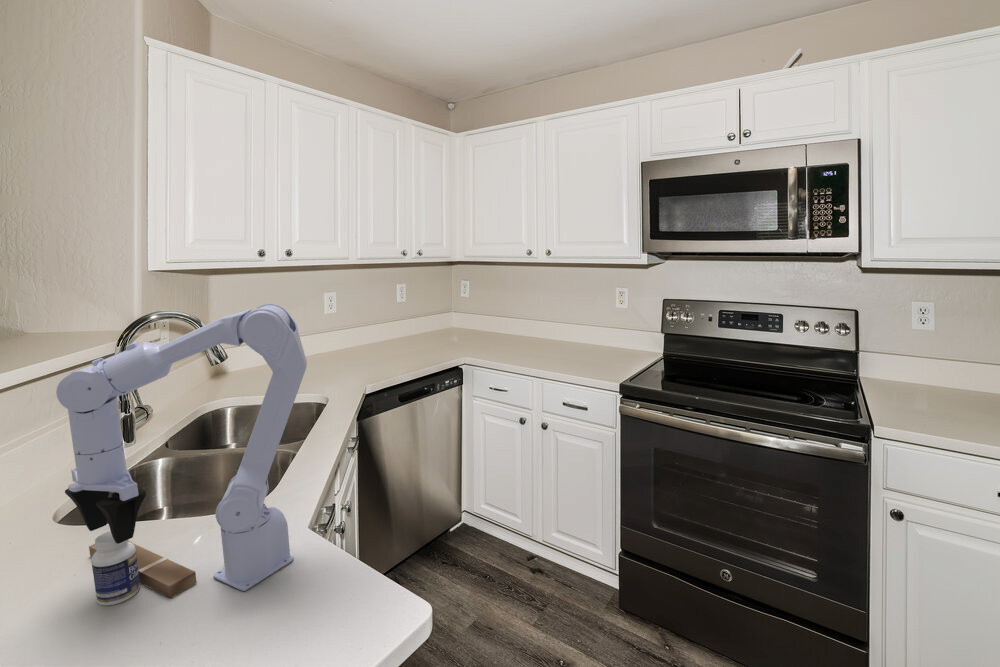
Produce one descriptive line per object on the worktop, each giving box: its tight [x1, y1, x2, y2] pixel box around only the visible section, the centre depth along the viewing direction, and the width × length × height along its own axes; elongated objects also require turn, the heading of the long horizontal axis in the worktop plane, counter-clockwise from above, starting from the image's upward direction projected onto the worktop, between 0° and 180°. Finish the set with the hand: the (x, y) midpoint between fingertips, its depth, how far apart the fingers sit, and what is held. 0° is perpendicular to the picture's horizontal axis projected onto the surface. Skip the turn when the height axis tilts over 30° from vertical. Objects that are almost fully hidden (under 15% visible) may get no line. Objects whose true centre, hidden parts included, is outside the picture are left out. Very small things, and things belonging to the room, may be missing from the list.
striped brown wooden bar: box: [88, 540, 198, 599], centre depth 84 cm, size 4×24×2 cm, turn 62°
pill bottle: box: [91, 530, 141, 606], centre depth 77 cm, size 5×5×10 cm
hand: (110, 533), depth 76 cm, fingers open, 7 cm apart
